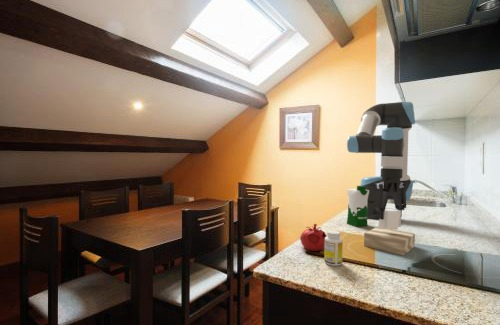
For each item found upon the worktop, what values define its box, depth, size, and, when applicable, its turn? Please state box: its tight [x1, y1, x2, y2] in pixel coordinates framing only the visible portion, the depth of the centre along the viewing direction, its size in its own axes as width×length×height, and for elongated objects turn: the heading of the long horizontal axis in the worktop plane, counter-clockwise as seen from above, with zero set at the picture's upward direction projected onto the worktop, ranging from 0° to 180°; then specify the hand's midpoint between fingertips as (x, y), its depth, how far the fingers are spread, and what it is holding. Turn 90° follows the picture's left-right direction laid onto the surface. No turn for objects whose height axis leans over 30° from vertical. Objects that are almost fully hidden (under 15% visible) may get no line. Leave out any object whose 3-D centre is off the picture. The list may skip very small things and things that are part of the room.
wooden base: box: [363, 226, 416, 256], centre depth 107 cm, size 14×14×5 cm
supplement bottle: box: [323, 229, 344, 267], centre depth 89 cm, size 6×6×10 cm
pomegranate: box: [299, 223, 327, 252], centre depth 103 cm, size 10×10×9 cm
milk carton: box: [346, 185, 369, 228], centre depth 140 cm, size 9×9×20 cm
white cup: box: [385, 207, 400, 230], centre depth 106 cm, size 7×7×7 cm
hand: (389, 226), depth 107 cm, fingers closed on white cup, 7 cm apart
